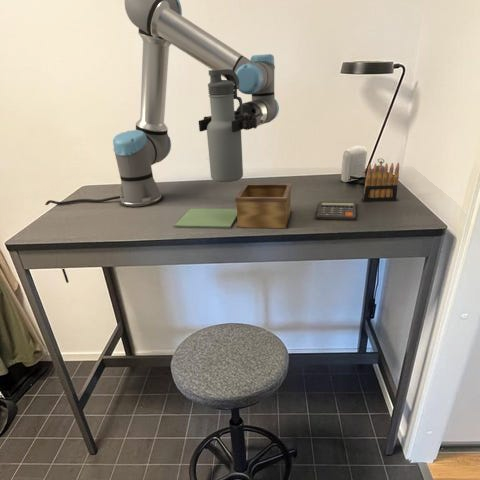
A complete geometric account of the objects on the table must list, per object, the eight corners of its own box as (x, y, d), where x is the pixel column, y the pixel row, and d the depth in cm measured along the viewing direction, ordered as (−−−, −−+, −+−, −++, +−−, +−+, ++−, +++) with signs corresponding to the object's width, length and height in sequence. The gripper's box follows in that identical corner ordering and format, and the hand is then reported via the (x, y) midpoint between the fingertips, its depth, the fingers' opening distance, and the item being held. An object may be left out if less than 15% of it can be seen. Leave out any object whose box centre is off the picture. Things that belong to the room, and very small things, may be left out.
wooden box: (237, 227, 120) (235, 198, 115) (246, 211, 133) (244, 183, 128) (286, 228, 117) (286, 198, 112) (291, 211, 130) (291, 183, 125)
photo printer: (357, 176, 160) (360, 143, 153) (365, 178, 157) (369, 144, 150) (339, 181, 156) (341, 147, 149) (347, 183, 153) (350, 149, 146)
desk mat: (174, 227, 124) (174, 225, 124) (190, 210, 137) (189, 208, 137) (230, 228, 120) (230, 226, 120) (240, 210, 133) (240, 208, 133)
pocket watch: (391, 182, 150) (395, 154, 145) (393, 188, 144) (397, 159, 138) (368, 182, 152) (372, 154, 147) (369, 188, 146) (373, 159, 140)
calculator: (316, 215, 122) (320, 200, 134) (316, 218, 122) (319, 203, 134) (355, 216, 119) (355, 201, 131) (355, 219, 120) (355, 204, 132)
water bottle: (228, 172, 126) (222, 68, 110) (250, 177, 120) (247, 68, 104) (204, 179, 120) (193, 71, 105) (226, 184, 114) (218, 70, 99)
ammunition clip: (363, 201, 134) (367, 164, 127) (362, 199, 135) (366, 163, 129) (396, 200, 133) (402, 163, 126) (394, 198, 134) (400, 161, 127)
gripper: (283, 128, 123) (253, 142, 106) (221, 127, 131) (184, 140, 115) (284, 101, 118) (252, 111, 102) (219, 101, 127) (180, 111, 111)
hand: (216, 126), depth 109 cm, fingers closed on water bottle, 10 cm apart
